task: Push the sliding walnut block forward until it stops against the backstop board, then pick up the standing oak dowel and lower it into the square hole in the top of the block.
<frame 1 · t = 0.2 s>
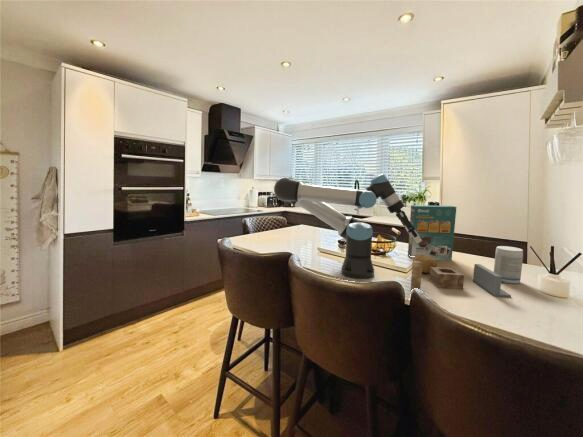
hand: (416, 238, 136), 15 cm above the kitchen island, tool tilted 35°, fingers open, 13 cm apart
backstop: (485, 288, 112), on the kitchen island
cake mix box: (429, 258, 157), on the kitchen island
block: (446, 277, 116), point 3 cm above the kitchen island, slide at 0.0 cm
supplement tub: (505, 280, 122), on the kitchen island
dowel: (415, 291, 109), on the kitchen island
potato: (423, 272, 133), on the kitchen island
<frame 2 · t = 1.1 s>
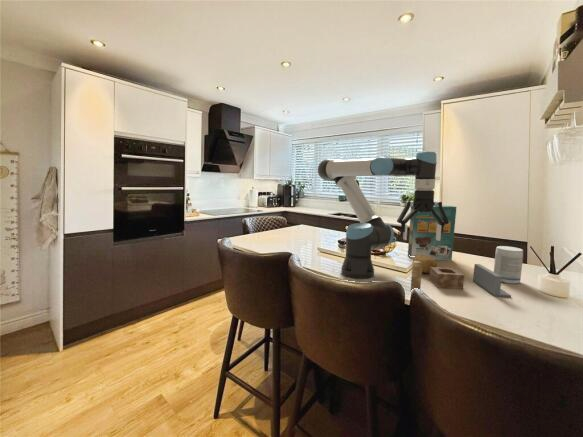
hand: (421, 239, 117), 19 cm above the kitchen island, tool pointing down, fingers open, 13 cm apart
nothing on the kitchen island moved.
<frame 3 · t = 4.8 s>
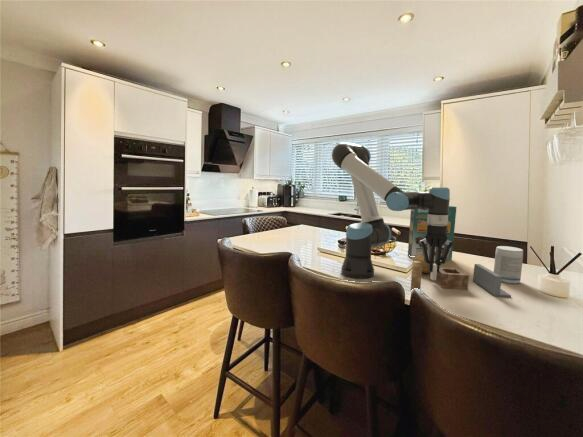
hand: (433, 279, 117), 2 cm above the kitchen island, tool pointing down, fingers closed
block: (450, 277, 116), point 3 cm above the kitchen island, slide at 1.7 cm, touching gripper
everything else where it was.
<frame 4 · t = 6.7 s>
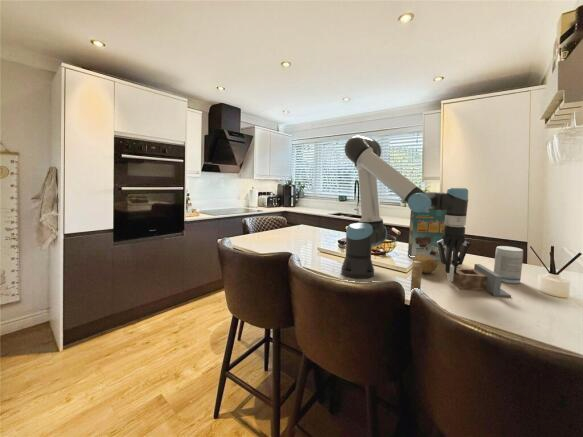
hand: (449, 280, 116), 2 cm above the kitchen island, tool pointing down, fingers closed
block: (467, 278, 115), point 3 cm above the kitchen island, slide at 8.5 cm, touching backstop, gripper
everything else where it was.
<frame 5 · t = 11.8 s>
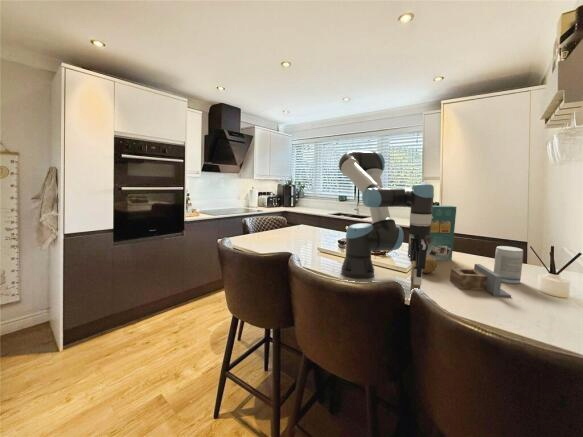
hand: (415, 282, 109), 4 cm above the kitchen island, tool pointing down, fingers closed on dowel, 3 cm apart
block: (467, 278, 115), point 3 cm above the kitchen island, slide at 8.5 cm
dowel: (415, 291, 109), on the kitchen island, touching gripper
everything else where it was.
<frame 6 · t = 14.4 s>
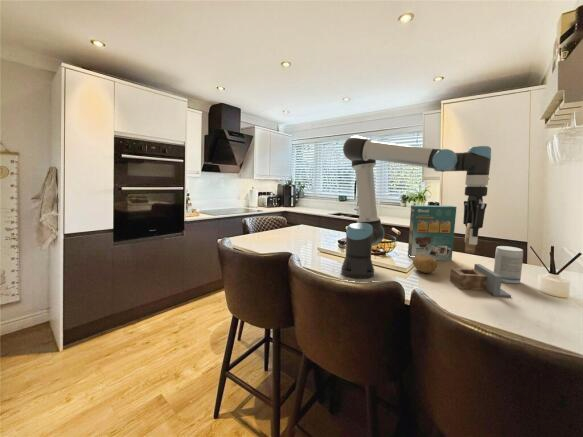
hand: (470, 243, 113), 18 cm above the kitchen island, tool pointing down, fingers closed on dowel, 3 cm apart
dowel: (469, 252, 113), point 15 cm above the kitchen island, touching gripper
everything else where it was.
when the fingers open (7 cm above the kitchen island, at t = 17.2 s): dowel drops 2 cm, resting on block.
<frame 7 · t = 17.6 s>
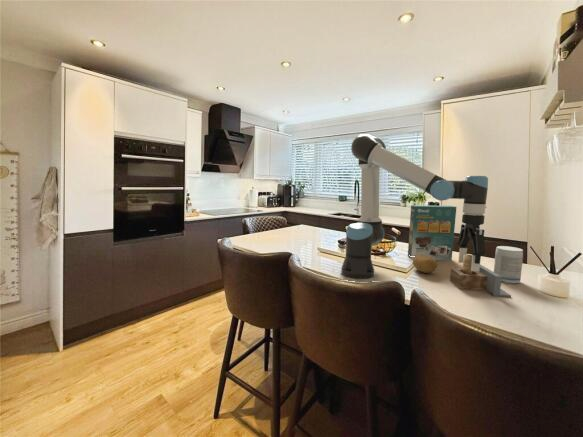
hand: (468, 266, 114), 8 cm above the kitchen island, tool pointing down, fingers open, 10 cm apart
block: (467, 278, 115), point 3 cm above the kitchen island, slide at 8.5 cm, touching dowel
dowel: (466, 283, 115), point 1 cm above the kitchen island, touching block
everything else where it was.
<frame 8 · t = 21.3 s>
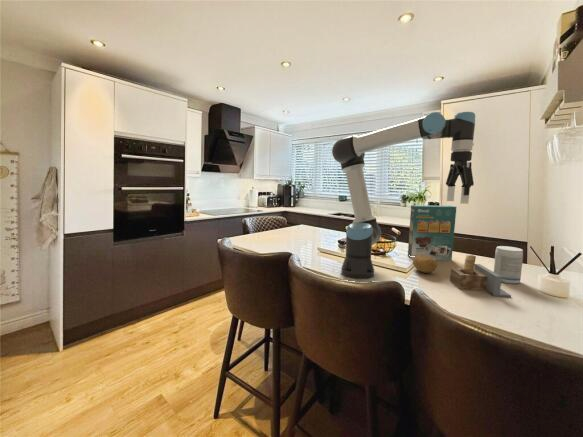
hand: (456, 202, 117), 35 cm above the kitchen island, tool pointing down, fingers open, 13 cm apart
nothing on the kitchen island moved.
at the end: block slide at 8.5 cm; dowel 0.3 cm off-centre on the block, point 1.1 cm above the block's base; the gripper is holding nothing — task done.
